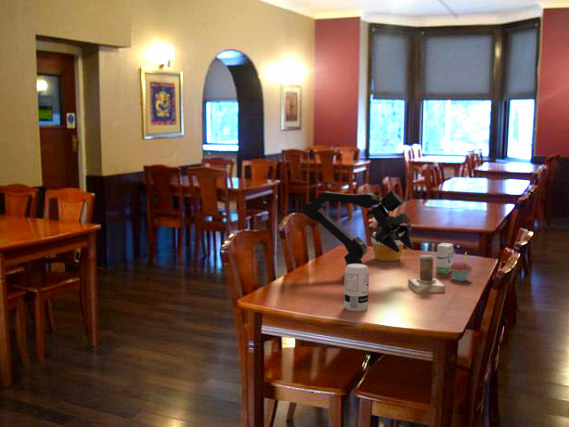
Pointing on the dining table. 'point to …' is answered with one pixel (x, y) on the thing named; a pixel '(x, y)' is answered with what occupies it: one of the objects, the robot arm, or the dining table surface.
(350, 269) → the supplement can
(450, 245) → the ink box
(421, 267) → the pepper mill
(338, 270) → the dining table surface
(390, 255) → the bucket of meat
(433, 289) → the birch block
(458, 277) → the cupcake
